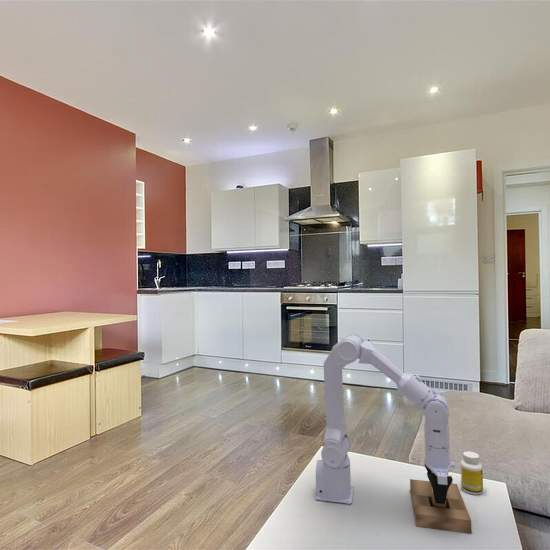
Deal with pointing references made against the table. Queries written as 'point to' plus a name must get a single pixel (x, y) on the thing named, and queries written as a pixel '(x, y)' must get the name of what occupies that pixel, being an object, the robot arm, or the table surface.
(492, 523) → the table surface
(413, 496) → the walnut socket board
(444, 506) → the beech peg
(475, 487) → the supplement bottle
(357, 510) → the table surface
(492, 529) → the table surface
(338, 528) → the table surface
